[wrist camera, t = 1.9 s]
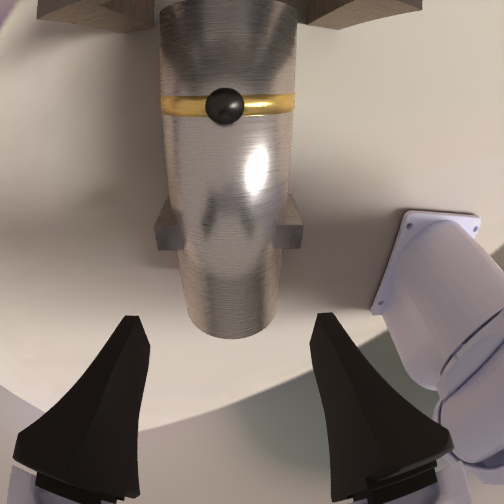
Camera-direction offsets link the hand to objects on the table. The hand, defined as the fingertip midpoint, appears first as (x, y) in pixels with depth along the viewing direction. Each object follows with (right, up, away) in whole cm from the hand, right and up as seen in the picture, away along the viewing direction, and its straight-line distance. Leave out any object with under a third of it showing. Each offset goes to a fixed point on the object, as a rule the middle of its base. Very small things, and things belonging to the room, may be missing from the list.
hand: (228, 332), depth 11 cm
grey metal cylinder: (0, +8, +3) cm, 9 cm away
